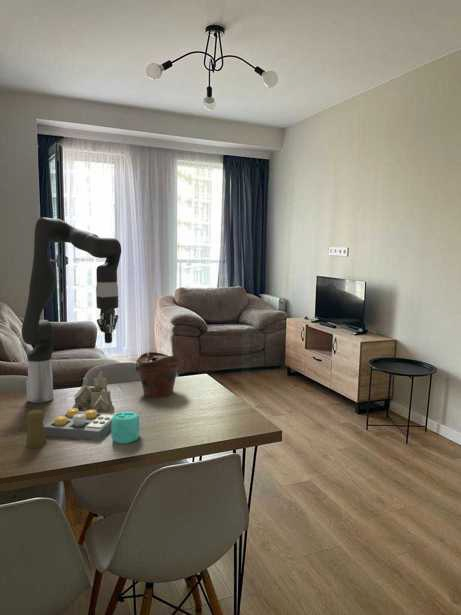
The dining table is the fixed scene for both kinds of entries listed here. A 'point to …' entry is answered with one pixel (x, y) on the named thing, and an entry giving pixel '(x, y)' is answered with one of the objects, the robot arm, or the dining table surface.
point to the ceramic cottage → (94, 396)
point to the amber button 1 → (60, 421)
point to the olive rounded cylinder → (35, 429)
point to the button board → (82, 427)
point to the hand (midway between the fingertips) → (108, 342)
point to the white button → (79, 420)
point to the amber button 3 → (91, 414)
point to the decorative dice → (125, 427)
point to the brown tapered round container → (157, 373)
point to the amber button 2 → (72, 412)
